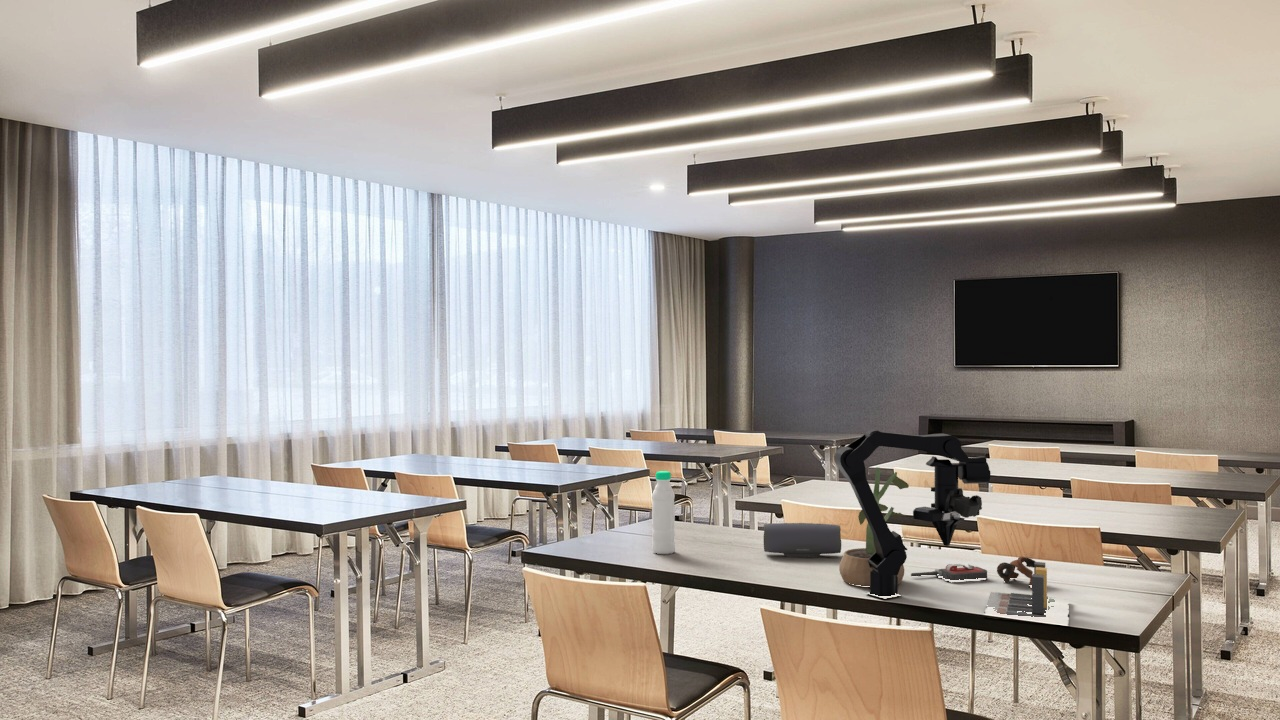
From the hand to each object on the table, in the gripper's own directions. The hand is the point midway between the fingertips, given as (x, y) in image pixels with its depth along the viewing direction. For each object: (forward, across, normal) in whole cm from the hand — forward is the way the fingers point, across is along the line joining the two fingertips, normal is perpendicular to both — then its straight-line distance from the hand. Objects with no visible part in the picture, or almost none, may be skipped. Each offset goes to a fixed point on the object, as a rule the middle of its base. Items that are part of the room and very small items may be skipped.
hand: (946, 545), depth 236 cm
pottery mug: (+13, +25, -3) cm, 28 cm away
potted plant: (+13, -3, +21) cm, 25 cm away
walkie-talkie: (+13, +15, +11) cm, 23 cm away
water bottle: (+13, -31, +82) cm, 89 cm away
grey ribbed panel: (+12, +4, -20) cm, 24 cm away
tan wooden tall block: (+11, +6, -23) cm, 26 cm away
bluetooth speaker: (+13, +1, +55) cm, 56 cm away
